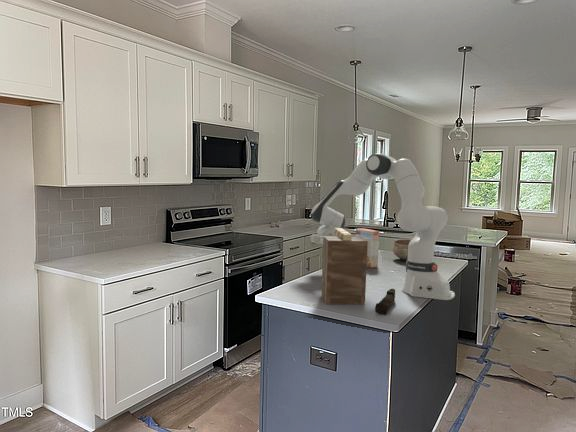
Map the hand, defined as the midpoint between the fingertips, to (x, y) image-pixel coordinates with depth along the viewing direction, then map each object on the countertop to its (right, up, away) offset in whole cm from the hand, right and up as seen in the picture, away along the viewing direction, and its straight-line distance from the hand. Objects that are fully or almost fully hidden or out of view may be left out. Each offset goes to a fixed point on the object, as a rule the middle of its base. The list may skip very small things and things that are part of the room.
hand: (334, 243), depth 213 cm
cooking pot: (+52, -14, +61) cm, 81 cm away
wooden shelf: (+1, -22, -27) cm, 35 cm away
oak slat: (+1, +5, -25) cm, 25 cm away
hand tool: (+17, -23, -35) cm, 45 cm away
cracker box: (+23, -15, +43) cm, 51 cm away
